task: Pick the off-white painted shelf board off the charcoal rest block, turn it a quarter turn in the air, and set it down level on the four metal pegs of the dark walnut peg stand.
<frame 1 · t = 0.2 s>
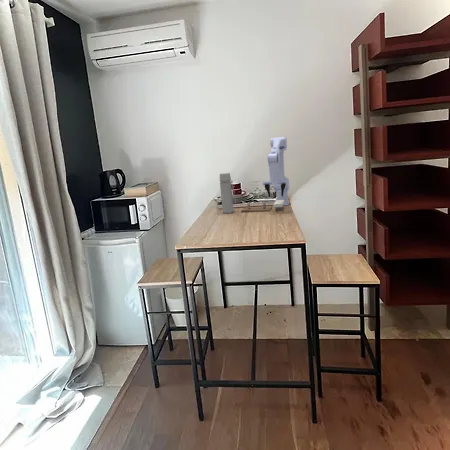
hand: (275, 196, 230), 10 cm above the table, tool pointing down, fingers open, 7 cm apart
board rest: (279, 209, 241), on the table
water bottle: (229, 212, 245), on the table
peg stand: (256, 210, 244), on the table
shelf board: (279, 205, 241), point 2 cm above the table, touching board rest
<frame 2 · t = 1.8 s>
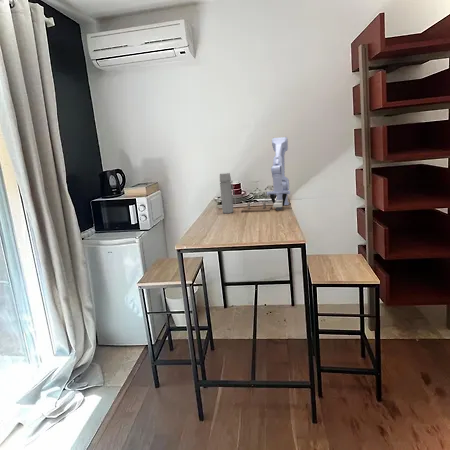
hand: (279, 206, 241), 2 cm above the table, tool pointing down, fingers closed on shelf board, 5 cm apart
shelf board: (279, 205, 241), point 2 cm above the table, touching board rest, gripper
everything else where it was.
when the fingers open (6 cm above the table, at t = 5.8 s): shelf board drops 1 cm, resting on peg stand.
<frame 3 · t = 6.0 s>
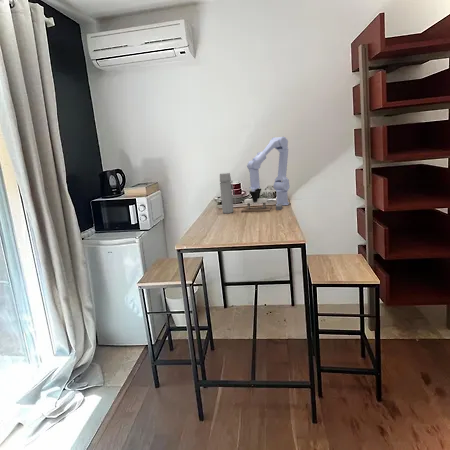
hand: (256, 201, 242), 6 cm above the table, tool pointing down, fingers open, 6 cm apart
shelf board: (256, 202, 243), point 5 cm above the table, touching peg stand
everything else where it was.
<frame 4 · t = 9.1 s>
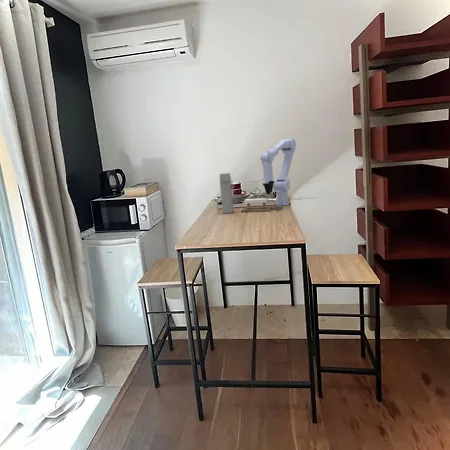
hand: (269, 193, 243), 10 cm above the table, tool pointing down, fingers open, 7 cm apart
nothing on the table moved.
at the end: shelf board 0.2 cm off-centre on the peg stand, point 5.2 cm above the peg stand's base; shelf board tilted 0°; the gripper is holding nothing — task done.
